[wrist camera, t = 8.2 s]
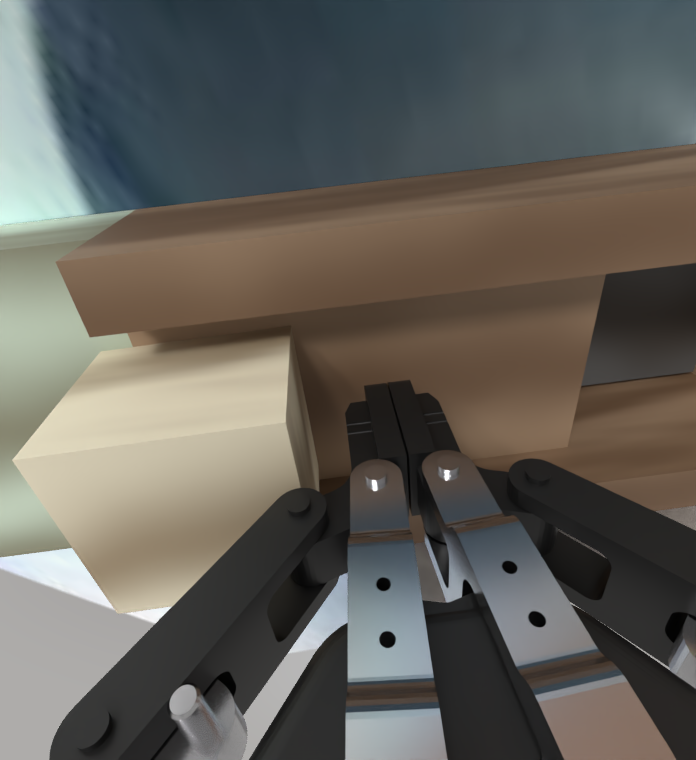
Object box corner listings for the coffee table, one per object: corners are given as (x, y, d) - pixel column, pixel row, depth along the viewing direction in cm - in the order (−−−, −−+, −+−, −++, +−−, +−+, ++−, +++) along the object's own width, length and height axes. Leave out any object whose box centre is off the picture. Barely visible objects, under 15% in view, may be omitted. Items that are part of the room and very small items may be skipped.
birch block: (100, 351, 14) (12, 459, 10) (290, 325, 14) (285, 421, 10) (163, 487, 17) (118, 614, 13) (318, 465, 17) (323, 584, 13)
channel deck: (-156, 243, 15) (-383, 313, 10) (857, 124, 16) (1113, 135, 11) (16, 490, 22) (-71, 608, 17) (734, 397, 23) (860, 483, 17)
